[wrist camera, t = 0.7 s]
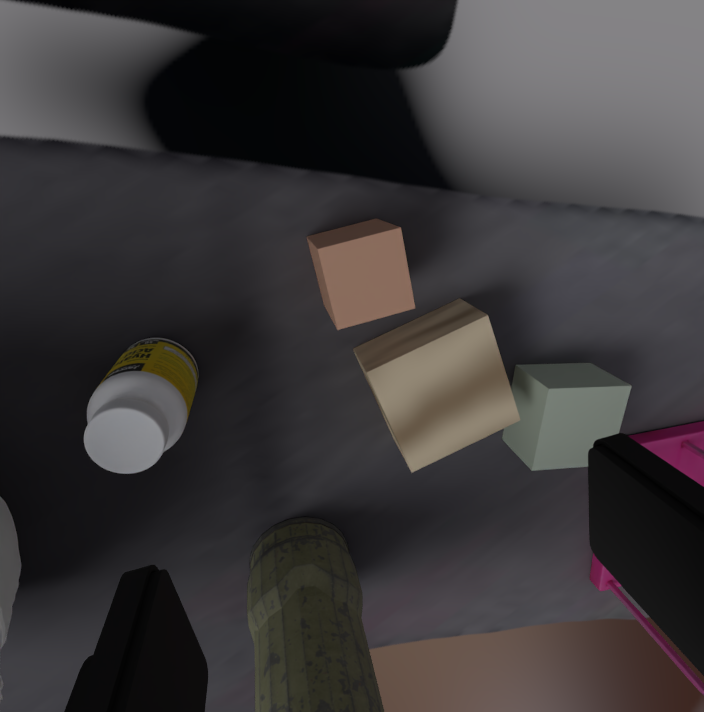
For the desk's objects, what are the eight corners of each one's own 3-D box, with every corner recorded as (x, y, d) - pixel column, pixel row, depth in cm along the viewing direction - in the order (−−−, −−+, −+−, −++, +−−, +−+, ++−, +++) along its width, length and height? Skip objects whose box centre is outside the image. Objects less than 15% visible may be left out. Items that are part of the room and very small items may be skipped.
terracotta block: (306, 236, 33) (317, 249, 27) (376, 218, 33) (400, 227, 28) (324, 305, 35) (337, 330, 29) (389, 287, 35) (415, 308, 30)
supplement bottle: (159, 319, 33) (124, 374, 24) (215, 374, 35) (202, 444, 26) (100, 368, 33) (43, 440, 24) (159, 420, 35) (127, 504, 26)
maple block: (352, 347, 36) (366, 372, 32) (458, 297, 37) (487, 315, 32) (393, 438, 40) (411, 472, 35) (490, 392, 40) (520, 420, 36)
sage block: (514, 364, 40) (548, 388, 35) (589, 362, 41) (631, 385, 36) (501, 438, 42) (531, 470, 38) (572, 434, 43) (610, 464, 39)
